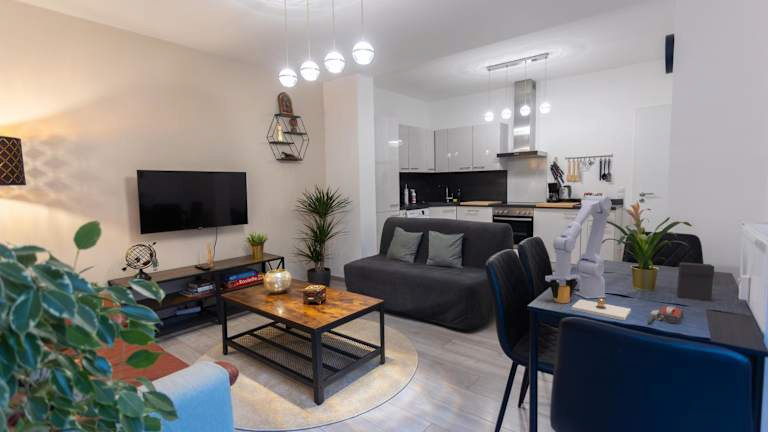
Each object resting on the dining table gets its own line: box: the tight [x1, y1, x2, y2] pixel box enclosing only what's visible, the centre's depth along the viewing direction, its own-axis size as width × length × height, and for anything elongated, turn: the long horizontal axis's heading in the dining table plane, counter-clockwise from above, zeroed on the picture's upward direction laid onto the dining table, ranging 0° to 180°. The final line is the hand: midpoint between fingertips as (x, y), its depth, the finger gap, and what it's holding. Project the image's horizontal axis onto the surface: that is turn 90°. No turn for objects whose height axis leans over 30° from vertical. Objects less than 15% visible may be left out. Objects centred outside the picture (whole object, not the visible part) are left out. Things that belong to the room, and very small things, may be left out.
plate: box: [570, 297, 632, 322], centre depth 148 cm, size 18×12×5 cm, turn 48°
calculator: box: [676, 262, 715, 301], centre depth 161 cm, size 11×4×15 cm, turn 65°
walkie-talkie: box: [647, 305, 684, 325], centre depth 138 cm, size 9×4×20 cm
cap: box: [553, 283, 571, 304], centre depth 159 cm, size 6×6×6 cm
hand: (561, 297), depth 159 cm, fingers closed on cap, 6 cm apart
